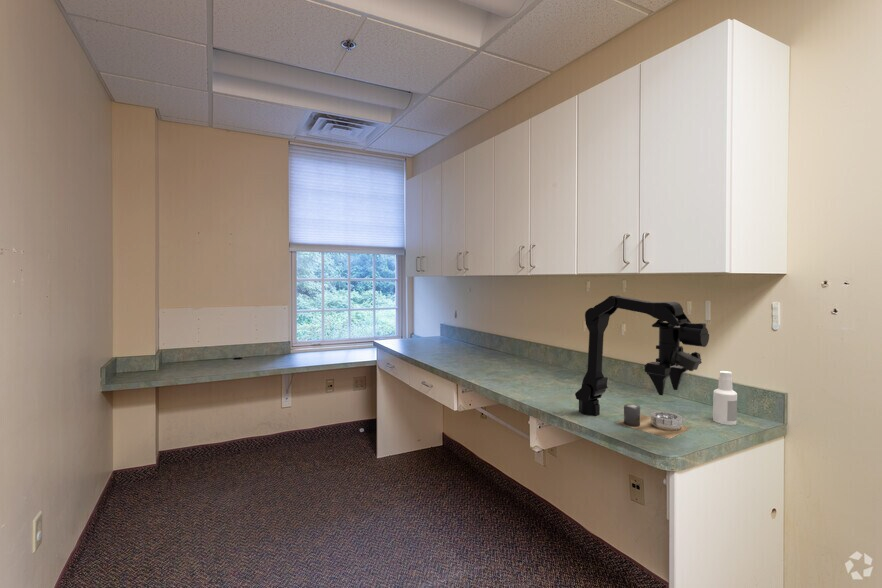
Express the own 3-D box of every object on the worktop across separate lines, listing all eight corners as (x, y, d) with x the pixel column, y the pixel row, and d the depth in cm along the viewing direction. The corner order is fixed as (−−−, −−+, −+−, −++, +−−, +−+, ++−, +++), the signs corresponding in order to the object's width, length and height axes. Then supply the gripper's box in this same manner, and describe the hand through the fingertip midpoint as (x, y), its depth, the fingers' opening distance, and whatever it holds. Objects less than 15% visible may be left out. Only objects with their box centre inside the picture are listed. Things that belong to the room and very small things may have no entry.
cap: (620, 423, 147) (621, 405, 146) (628, 420, 150) (629, 402, 149) (635, 427, 143) (635, 409, 142) (642, 424, 146) (643, 406, 145)
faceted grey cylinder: (645, 425, 145) (645, 415, 145) (659, 419, 150) (659, 409, 150) (673, 433, 138) (673, 422, 137) (687, 426, 143) (687, 416, 143)
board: (615, 425, 148) (615, 422, 148) (639, 416, 157) (639, 413, 157) (669, 441, 133) (670, 438, 133) (692, 430, 142) (692, 427, 142)
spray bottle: (739, 428, 144) (740, 374, 143) (715, 426, 146) (716, 373, 145) (733, 422, 150) (734, 370, 149) (710, 419, 153) (711, 369, 152)
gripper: (682, 349, 122) (681, 404, 123) (710, 342, 133) (709, 392, 134) (643, 344, 131) (643, 395, 132) (673, 338, 142) (672, 385, 143)
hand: (668, 392), depth 135 cm, fingers open, 9 cm apart
